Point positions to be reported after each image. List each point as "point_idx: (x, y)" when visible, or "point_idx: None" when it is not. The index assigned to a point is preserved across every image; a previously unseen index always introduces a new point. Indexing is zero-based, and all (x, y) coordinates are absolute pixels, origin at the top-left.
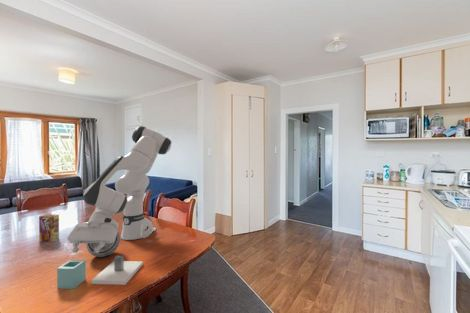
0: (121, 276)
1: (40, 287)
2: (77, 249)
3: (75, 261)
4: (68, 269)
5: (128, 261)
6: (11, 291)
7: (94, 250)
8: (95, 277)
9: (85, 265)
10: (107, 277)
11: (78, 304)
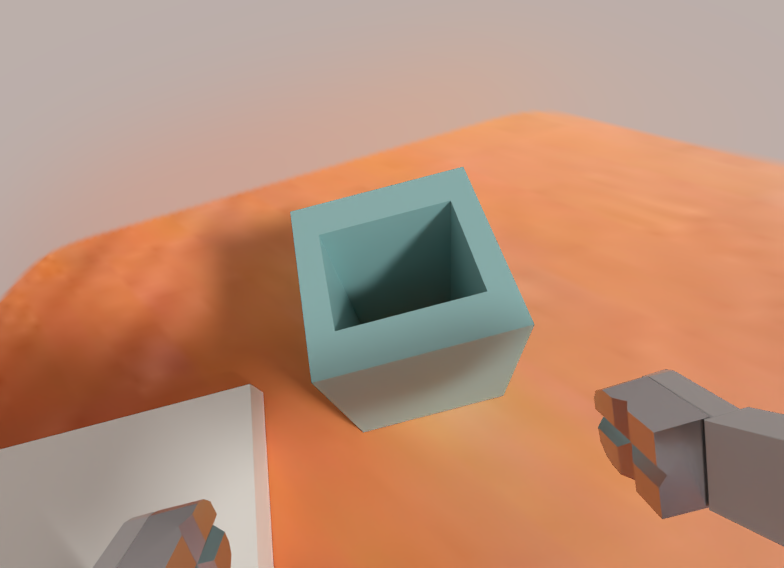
0: (6, 520)
1: (590, 249)
2: (643, 462)
3: (419, 319)
4: (344, 203)
5: None
6: (714, 170)
7: (182, 512)
8: (241, 428)
9: (331, 400)
10: (132, 463)
11: (197, 227)
